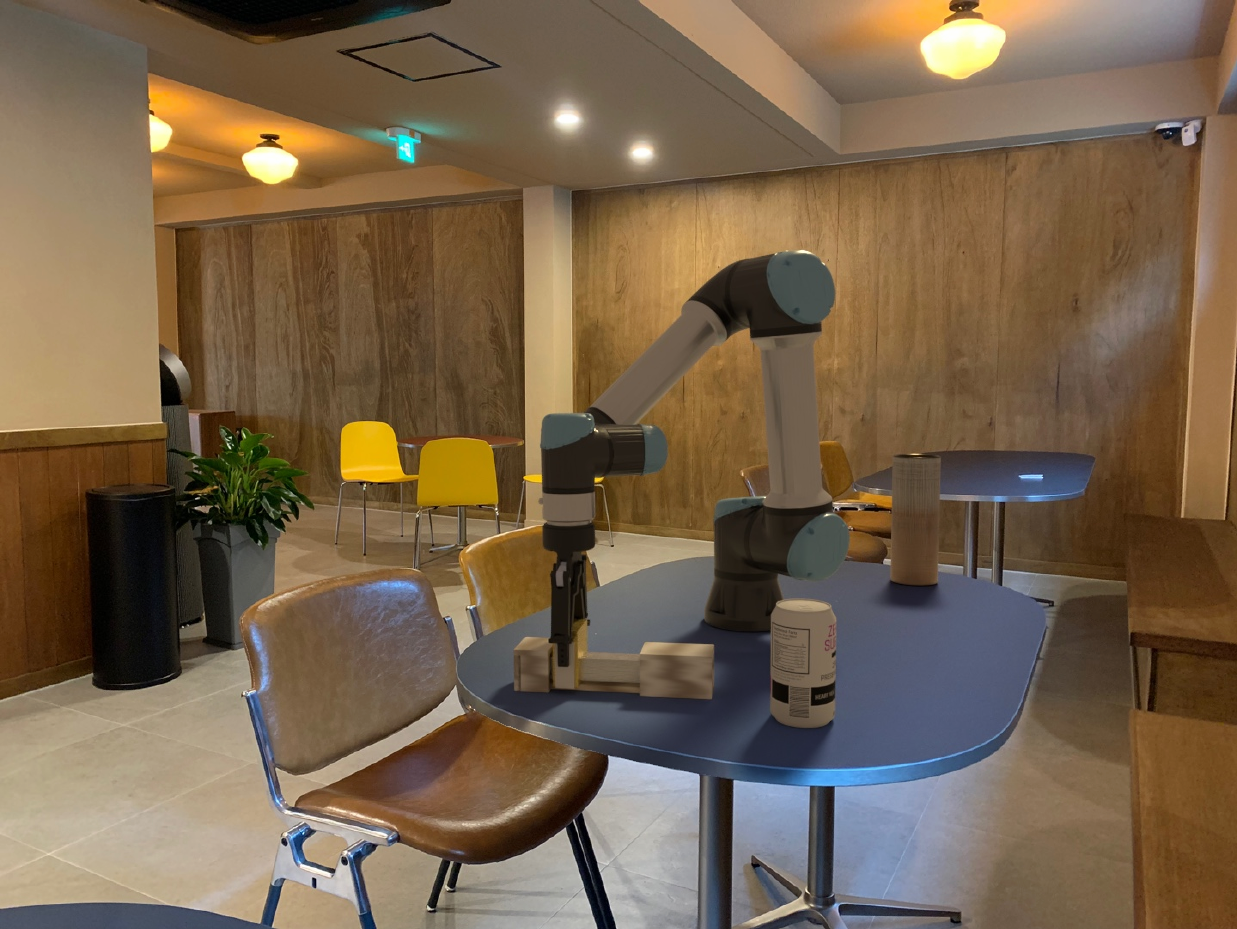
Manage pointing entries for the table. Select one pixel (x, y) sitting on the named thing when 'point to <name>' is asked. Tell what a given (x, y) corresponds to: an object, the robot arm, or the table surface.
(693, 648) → the sleeve and socket
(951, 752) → the table surface
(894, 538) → the vase
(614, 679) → the golden wooden block
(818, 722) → the supplement can
